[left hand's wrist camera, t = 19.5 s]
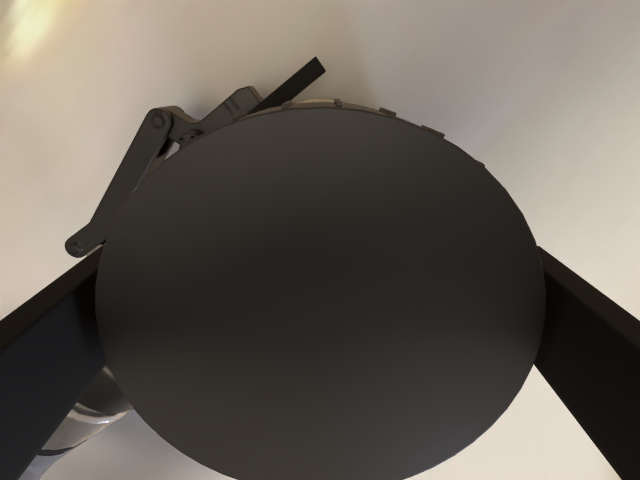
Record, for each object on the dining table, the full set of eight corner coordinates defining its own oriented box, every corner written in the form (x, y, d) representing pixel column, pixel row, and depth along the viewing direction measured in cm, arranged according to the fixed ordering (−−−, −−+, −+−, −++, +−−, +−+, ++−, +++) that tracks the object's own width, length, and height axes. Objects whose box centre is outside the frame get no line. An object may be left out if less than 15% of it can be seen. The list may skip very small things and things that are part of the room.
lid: (326, -8, 9) (328, -37, 7) (578, 298, 12) (635, 346, 10) (59, 288, 12) (1, 334, 10) (316, 477, 15) (316, 545, 13)
